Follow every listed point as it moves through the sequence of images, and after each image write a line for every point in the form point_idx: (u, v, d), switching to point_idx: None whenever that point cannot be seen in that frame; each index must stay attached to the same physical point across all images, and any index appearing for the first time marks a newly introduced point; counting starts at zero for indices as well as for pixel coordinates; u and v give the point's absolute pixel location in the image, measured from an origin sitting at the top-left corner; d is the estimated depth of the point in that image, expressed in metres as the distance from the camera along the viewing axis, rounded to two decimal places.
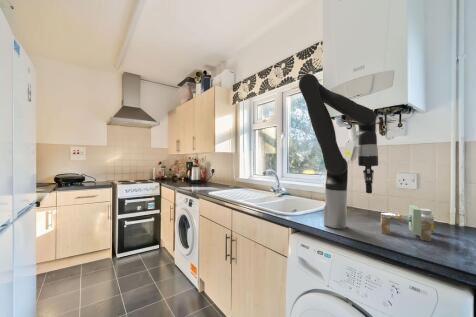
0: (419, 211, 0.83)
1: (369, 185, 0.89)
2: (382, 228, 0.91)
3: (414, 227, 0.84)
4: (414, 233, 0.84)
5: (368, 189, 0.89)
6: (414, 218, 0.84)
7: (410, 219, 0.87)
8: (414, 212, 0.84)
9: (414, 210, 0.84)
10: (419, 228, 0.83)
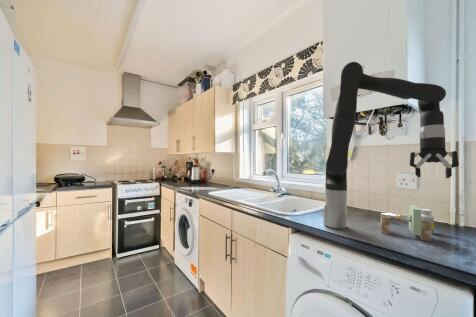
0: (419, 211, 0.83)
1: None
2: (382, 228, 0.91)
3: (414, 227, 0.84)
4: (414, 233, 0.84)
5: None
6: (414, 218, 0.84)
7: (410, 219, 0.87)
8: (414, 212, 0.84)
9: (414, 210, 0.84)
10: (419, 228, 0.83)
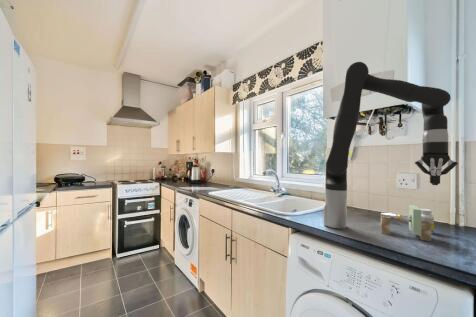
0: (419, 211, 0.83)
1: None
2: (382, 228, 0.91)
3: (414, 227, 0.84)
4: (414, 233, 0.84)
5: None
6: (414, 218, 0.84)
7: (410, 219, 0.87)
8: (414, 212, 0.84)
9: (414, 210, 0.84)
10: (419, 228, 0.83)
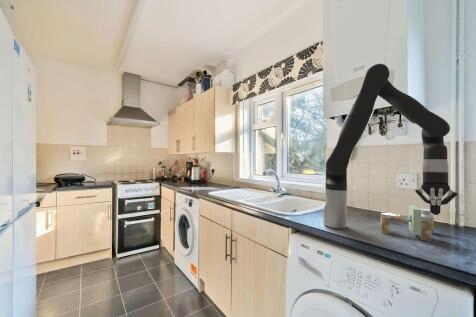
0: (419, 211, 0.83)
1: (439, 206, 0.84)
2: (382, 228, 0.91)
3: (414, 227, 0.84)
4: (414, 233, 0.84)
5: None
6: (414, 218, 0.84)
7: (410, 219, 0.87)
8: (414, 212, 0.84)
9: (414, 210, 0.84)
10: (419, 228, 0.83)
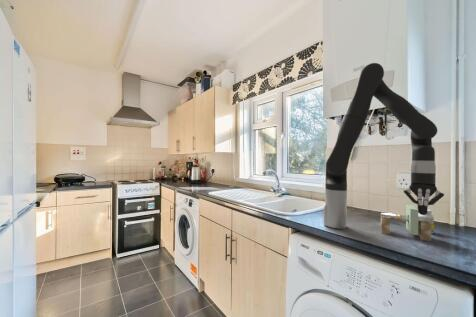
0: (416, 211, 0.83)
1: (426, 206, 0.86)
2: (382, 228, 0.91)
3: (411, 227, 0.84)
4: (411, 233, 0.84)
5: None
6: (411, 218, 0.84)
7: None
8: (411, 212, 0.84)
9: (411, 210, 0.84)
10: (416, 228, 0.83)
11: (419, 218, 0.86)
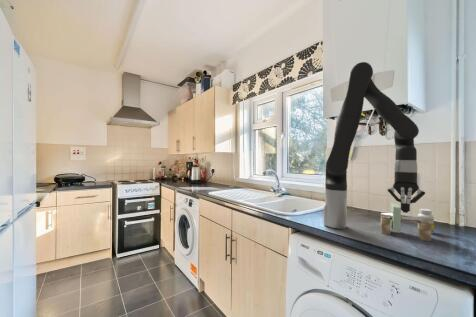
0: (399, 209, 0.86)
1: None
2: (382, 228, 0.91)
3: (394, 224, 0.87)
4: (394, 230, 0.87)
5: None
6: (394, 216, 0.87)
7: (410, 219, 0.87)
8: (394, 210, 0.87)
9: (394, 208, 0.87)
10: (399, 225, 0.86)
11: (419, 218, 0.86)
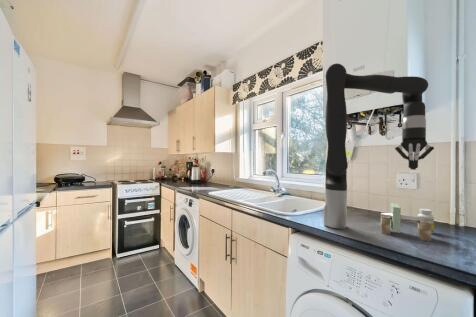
0: (398, 209, 0.86)
1: None
2: (382, 228, 0.91)
3: (394, 224, 0.87)
4: (394, 230, 0.87)
5: None
6: (394, 216, 0.87)
7: (410, 219, 0.87)
8: (394, 210, 0.87)
9: (394, 208, 0.87)
10: (398, 225, 0.86)
11: (419, 218, 0.86)
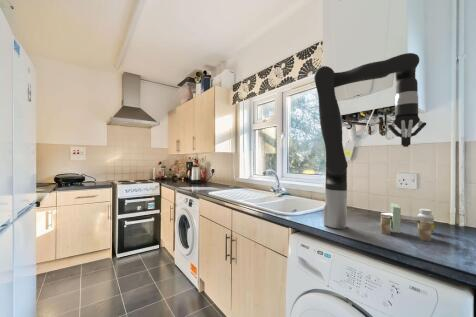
0: (398, 209, 0.86)
1: None
2: (382, 228, 0.91)
3: (394, 224, 0.87)
4: (394, 230, 0.87)
5: None
6: (394, 216, 0.87)
7: (410, 219, 0.87)
8: (394, 210, 0.87)
9: (394, 208, 0.87)
10: (398, 225, 0.86)
11: (419, 218, 0.86)
